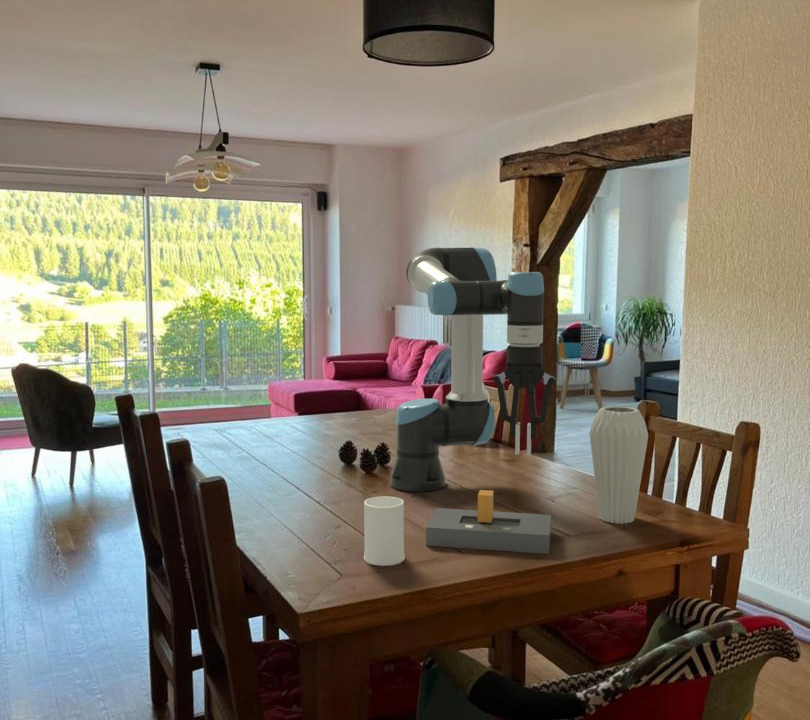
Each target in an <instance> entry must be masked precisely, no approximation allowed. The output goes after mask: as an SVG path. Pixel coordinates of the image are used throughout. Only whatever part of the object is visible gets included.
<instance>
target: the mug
mask: <svg viewBox="0 0 810 720" xmlns="http://www.w3.org/2000/svg"><path fill="white" fill-rule="evenodd" d="M404 502H405V501H404V499H402V498H399V497H396V496H389V495H388V496H387V495H385V496H383V495H382V496H373V497H369V498H367V499H366V500H364V502H363V506H364V507H363V510H364V513H363V514H364V516H363V517H364V518H363V519H364V520H363V521H364V522H363V523H364V530H363V531H364V554H363V561H365V562H366V563H367V564H369V565H373V566H378V567H379V566H381V567H387V566H394V565H398V564H401V563H402V562H404V561H405V559H406V555H405V554H406V553H405V536H404V535H405V530H404V529H405V520H404V519H405V518H404V517H405V512H404V511H405V509H404V508H405V507H404V505H405V504H404Z"/></svg>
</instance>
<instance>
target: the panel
mask: <svg viewBox="0 0 810 720" xmlns="http://www.w3.org/2000/svg"><path fill="white" fill-rule="evenodd" d="M551 533H552V515H551V514H541V513H540V514H539V513H525V512H509V511H508V512H507V511H494V510H493V519H492V522H491V523H489V522H478V509H477V510H475V509H457V508H456V509H455V508H442V507H441V508H440V507H437V508H436V509H435V511H434V513H433V515H432V516H431V518H430V520H429V521H428V523H427V525H426V527H425V546H433V547H444V548H445V547H447V548H459V549H460V548H462V549H474V550H475V549H476V550H488V551H500V552H501V551H503V552H516V553H517V552H518V553H531V554H543V555H544V554H546V555H548V554H550V546H551V544H550V543H551Z"/></svg>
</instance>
